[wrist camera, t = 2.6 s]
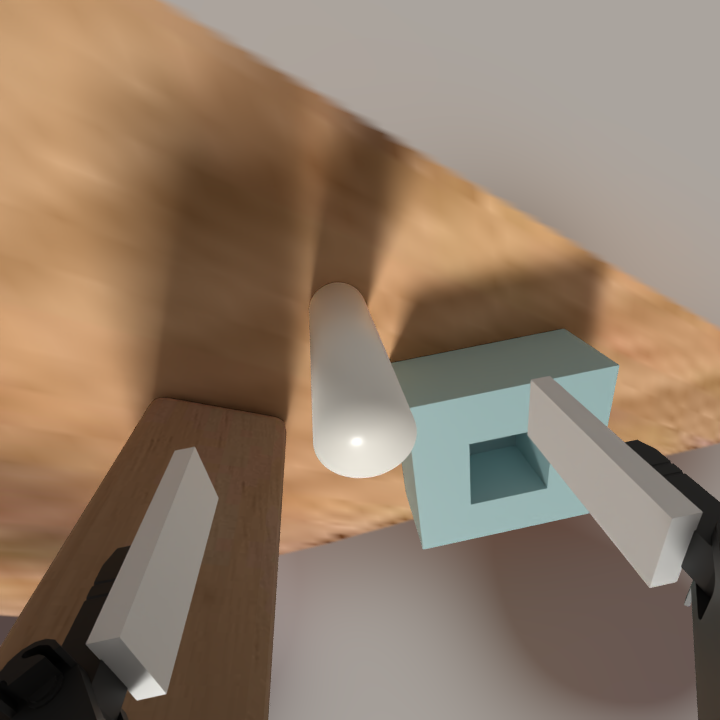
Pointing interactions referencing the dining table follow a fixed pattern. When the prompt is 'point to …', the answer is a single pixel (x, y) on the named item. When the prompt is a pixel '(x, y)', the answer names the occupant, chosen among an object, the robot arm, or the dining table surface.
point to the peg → (354, 389)
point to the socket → (492, 434)
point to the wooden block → (218, 567)
